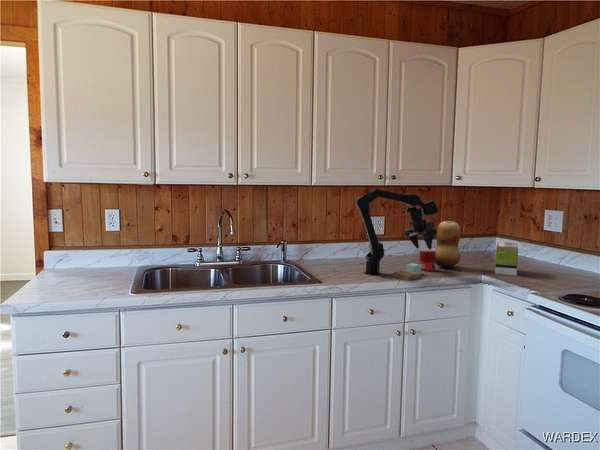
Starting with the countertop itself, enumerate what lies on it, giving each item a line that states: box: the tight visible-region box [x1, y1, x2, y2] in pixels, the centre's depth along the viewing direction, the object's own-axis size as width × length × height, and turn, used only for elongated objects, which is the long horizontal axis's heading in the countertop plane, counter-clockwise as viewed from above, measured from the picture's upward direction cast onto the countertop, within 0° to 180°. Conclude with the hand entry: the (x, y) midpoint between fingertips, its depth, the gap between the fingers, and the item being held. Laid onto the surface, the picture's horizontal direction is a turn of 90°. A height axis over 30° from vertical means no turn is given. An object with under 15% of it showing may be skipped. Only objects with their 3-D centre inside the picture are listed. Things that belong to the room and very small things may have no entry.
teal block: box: [405, 262, 422, 274], centre depth 205 cm, size 5×5×5 cm
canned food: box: [418, 247, 436, 273], centre depth 215 cm, size 8×8×11 cm
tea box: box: [494, 241, 519, 277], centre depth 212 cm, size 15×10×15 cm, turn 154°
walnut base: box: [392, 269, 422, 281], centre depth 199 cm, size 9×9×2 cm
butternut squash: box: [434, 220, 461, 269], centre depth 221 cm, size 14×13×25 cm
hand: (423, 248), depth 206 cm, fingers open, 9 cm apart
